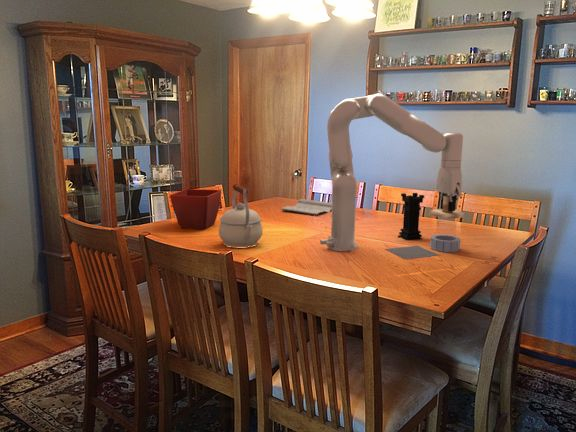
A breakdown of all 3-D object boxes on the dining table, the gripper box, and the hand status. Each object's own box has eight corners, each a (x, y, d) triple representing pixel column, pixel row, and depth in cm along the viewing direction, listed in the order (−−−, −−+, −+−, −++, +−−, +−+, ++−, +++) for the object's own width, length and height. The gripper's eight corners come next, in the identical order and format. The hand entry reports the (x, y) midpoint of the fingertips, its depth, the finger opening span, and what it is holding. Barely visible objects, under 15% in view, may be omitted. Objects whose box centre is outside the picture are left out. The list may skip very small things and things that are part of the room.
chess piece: (406, 241, 215) (408, 196, 210) (397, 237, 222) (399, 193, 218) (422, 240, 217) (425, 195, 213) (413, 236, 224) (416, 192, 220)
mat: (280, 212, 277) (280, 204, 276) (301, 206, 297) (302, 198, 296) (317, 217, 265) (317, 208, 265) (336, 210, 285) (336, 202, 284)
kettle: (213, 240, 216) (212, 183, 211) (254, 236, 222) (253, 181, 217) (227, 255, 193) (226, 192, 188) (272, 250, 199) (272, 189, 194)
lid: (444, 219, 191) (445, 199, 189) (424, 213, 203) (425, 194, 201) (471, 216, 195) (473, 197, 194) (449, 210, 207) (451, 192, 206)
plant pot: (170, 229, 235) (168, 194, 231) (187, 221, 253) (186, 188, 249) (208, 232, 230) (207, 196, 227) (222, 223, 248) (222, 190, 245)
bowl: (442, 254, 195) (443, 242, 194) (424, 247, 205) (425, 235, 204) (465, 252, 199) (466, 240, 198) (447, 245, 209) (447, 233, 208)
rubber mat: (405, 260, 187) (405, 259, 187) (384, 250, 201) (384, 249, 201) (440, 256, 193) (440, 255, 192) (417, 246, 206) (417, 245, 206)
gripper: (429, 162, 201) (427, 206, 205) (457, 167, 186) (453, 214, 190) (445, 162, 204) (442, 205, 208) (473, 166, 189) (469, 213, 192)
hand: (447, 209), depth 199 cm, fingers closed on lid, 4 cm apart
